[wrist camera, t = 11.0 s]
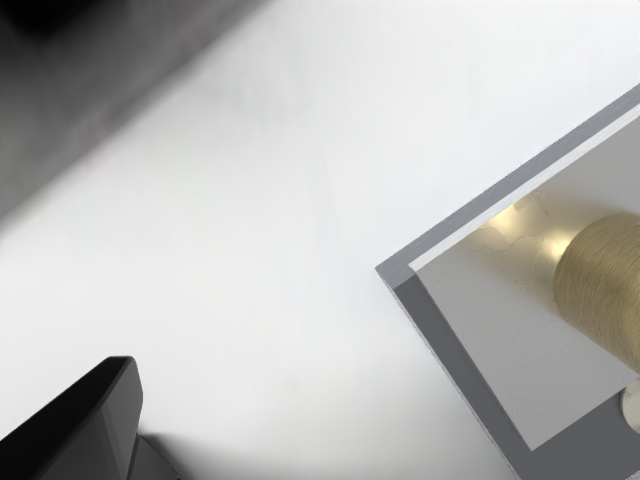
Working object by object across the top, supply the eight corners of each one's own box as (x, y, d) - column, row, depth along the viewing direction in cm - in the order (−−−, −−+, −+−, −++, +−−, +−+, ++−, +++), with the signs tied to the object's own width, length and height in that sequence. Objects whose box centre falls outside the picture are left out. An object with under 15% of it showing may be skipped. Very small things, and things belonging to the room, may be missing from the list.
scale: (525, 489, 27) (563, 541, 24) (368, 259, 22) (392, 287, 19) (769, 322, 27) (840, 353, 24) (666, 51, 22) (740, 45, 19)
